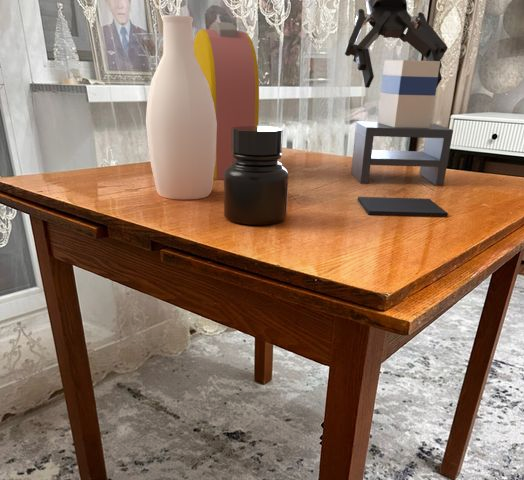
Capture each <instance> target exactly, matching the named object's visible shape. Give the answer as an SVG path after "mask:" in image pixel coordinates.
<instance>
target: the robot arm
mask: <svg viewBox="0 0 524 480" xmlns="http://www.w3.org/2000/svg"><path fill="white" fill-rule="evenodd" d="M407 3H408V2H407V0H365V4H366V10H367V13H365V10H364V9H362V8H359V9H358V11H357V13H356V16H355V19H354V28H353V30H352V33H351V34H350V37H349V39H348V42H347V45H346V46H345V47H346V48H345V50H344V55H345V56H346V57H349V56H353V58H352V61H353V62H354V63H356V69H357V70H358V71H361V72H362V79H363V83H364V88H367V89H368V88H370V87H371V84H372V82H373V80H374V78H375V75H374V70H373V66H372V65H373V64H372V61H371V56H370V50H369V48H370V47H371V46H372V44H373V43H374V42H375V41H377V40H378V39H379V37H380V36H381V37H383V38H384V39H389V38H392V39H399V40H401V41H402V42H404V43H408V44H409V45H410V46H411V47H413V48H414V49H415V50H416V51H417V52H418V53H419V54H421V55H422V56H423V57H424V58H426V61H440V66H439V72H438V81H437V87H438V86H439V85H440V83H441V81H442V80H443V77H442V73H441V69H442V67H443V65H442V64H443V63H442V59H443V57H444V55H445V54H446V52H447V50H448V49H449V48H448V46H447V44H446V43H445V42H444V41H443V39H442V38H441V36H439V35H438V33H437V31H435V30H434V28H433V27H432V26H431V25H430V23H429V22H428V21H427V19H426V16H425V13H423V12H421V11H420V12H418V14H417V15H416V16H415V15H413V16H411V14H410V13H409V12H408V4H407ZM367 23H368V25H369V26H370V27H371V29H369V31H368V33H367V34H366V35H365V36H364V37H363V39H362V40H361V41H359V43H358V44H356V43H357V40H358V38H359V36H360V33H361V31H362V28H364V26H366V25H367ZM405 31H406V32H405Z"/></svg>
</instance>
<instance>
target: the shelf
mask: <svg viewBox="0 0 524 480" xmlns="http://www.w3.org/2000/svg"><path fill="white" fill-rule="evenodd" d="M453 134H454V129H452V128H449V127H445V126H443V125H441V124H440V125H439V124H437V123H430V128H394V127H391V126H387V125H383V124H380V123H377V121H358V120H356V121H355V128H354V139H353V148H352V160H351V168H350V169H351V170H350V173H351V174H352V176H354V178H355V179H356V180H357V181H358V183H359V184H365V185H366V184H369V181H370V171H371V166H388V167H389V166H390V167H419V172H418V173H419V174H418V175H420V176H421V177H423V178H424V179H426V180H427V181H429V182H430V183H431V184H433V185H435V186H442V187H443V186H444V183H445V179H446V173H447V167H448V163H449V155H450V150H451V145H452V140H453V139H452V138H453ZM374 137H382V138H383V137H385V138H387V137H389V138H418V139H420V138H421V139H423V138H424V143H423V149H422V150H421V151H420V150H419V151H418V150H416V151H415V150H387V149H386V150H381V149H373V147H374V145H373V144H374Z"/></svg>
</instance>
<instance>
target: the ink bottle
mask: <svg viewBox="0 0 524 480" xmlns="http://www.w3.org/2000/svg"><path fill="white" fill-rule="evenodd" d="M283 131H284V129H282V128H281V127H280V128H279V127H274V126H261V125H260V126H259V125H258V126H239V127H233V128H232V157H233V158H235V161H233V162H232V163H231V165H230V166H228V167H227V168H226V169H225V172H224V179H223V215H224V218H225V219H226V220H228V221H230V222H233V223H237V224H243V225H248V226H249V225H250V226H252V225H253V226H265V225H273V224H277V223H280V222H283V221H284V220H286V218H287V215H288V214H287V213H288V195H289V194H288V193H289V172H288V170H287V168H285V167H284V166H283V164H282V163H281V162H279V160H281V158H282V153H283V133H284V132H283Z"/></svg>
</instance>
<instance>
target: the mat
mask: <svg viewBox="0 0 524 480" xmlns="http://www.w3.org/2000/svg"><path fill="white" fill-rule="evenodd" d="M357 202H358V203H359V204H360V206H361V207H362V208H363V209H364V211H365V212H366V214H367V215H368V216H391V217H392V216H394V217H395V216H397V217H432V218H433V217H435V218H438V217H439V218H447V217H448V216H449V212H447V211H446V210H445V209H443V208H442V207H441V206H440V205H438V204H437V203H435V201H433V200H432V199H431V198H421V197H420V198H419V197H416V198H415V197H385V196H358V197H357Z"/></svg>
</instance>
